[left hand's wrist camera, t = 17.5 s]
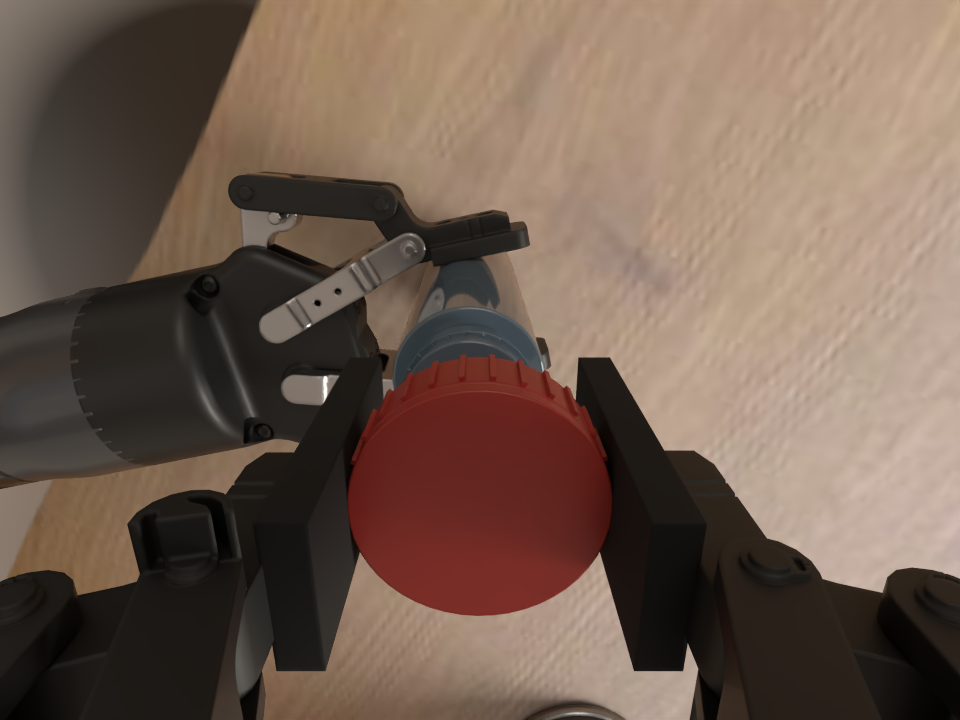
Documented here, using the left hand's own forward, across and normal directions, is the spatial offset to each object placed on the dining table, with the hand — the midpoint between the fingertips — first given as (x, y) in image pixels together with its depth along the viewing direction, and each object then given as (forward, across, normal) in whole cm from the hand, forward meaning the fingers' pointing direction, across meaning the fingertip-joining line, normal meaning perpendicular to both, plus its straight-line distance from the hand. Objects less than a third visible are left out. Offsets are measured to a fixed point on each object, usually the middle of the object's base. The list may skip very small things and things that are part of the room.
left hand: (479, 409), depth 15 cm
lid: (-4, 0, 0) cm, 4 cm away
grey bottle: (+16, 0, 0) cm, 16 cm away
